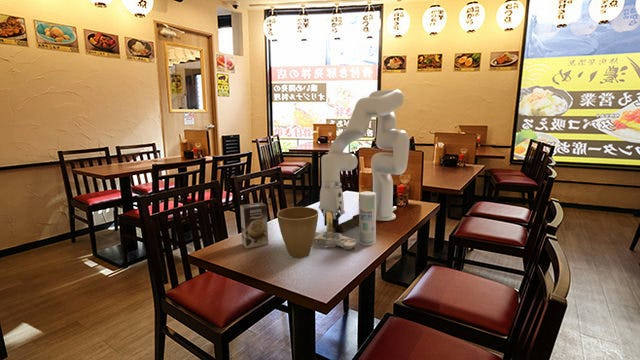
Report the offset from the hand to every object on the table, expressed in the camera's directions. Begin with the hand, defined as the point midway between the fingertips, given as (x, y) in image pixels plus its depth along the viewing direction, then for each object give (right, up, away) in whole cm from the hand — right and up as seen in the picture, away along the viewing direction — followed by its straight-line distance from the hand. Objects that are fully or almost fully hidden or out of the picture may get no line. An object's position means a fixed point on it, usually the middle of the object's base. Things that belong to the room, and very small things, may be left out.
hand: (331, 225), depth 150 cm
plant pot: (-13, -8, -21) cm, 26 cm away
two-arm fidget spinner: (-1, -5, -11) cm, 12 cm away
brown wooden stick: (+8, -2, +8) cm, 12 cm away
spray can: (+14, -5, -11) cm, 18 cm away
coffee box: (-31, -6, -10) cm, 33 cm away
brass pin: (0, -3, 0) cm, 3 cm away
